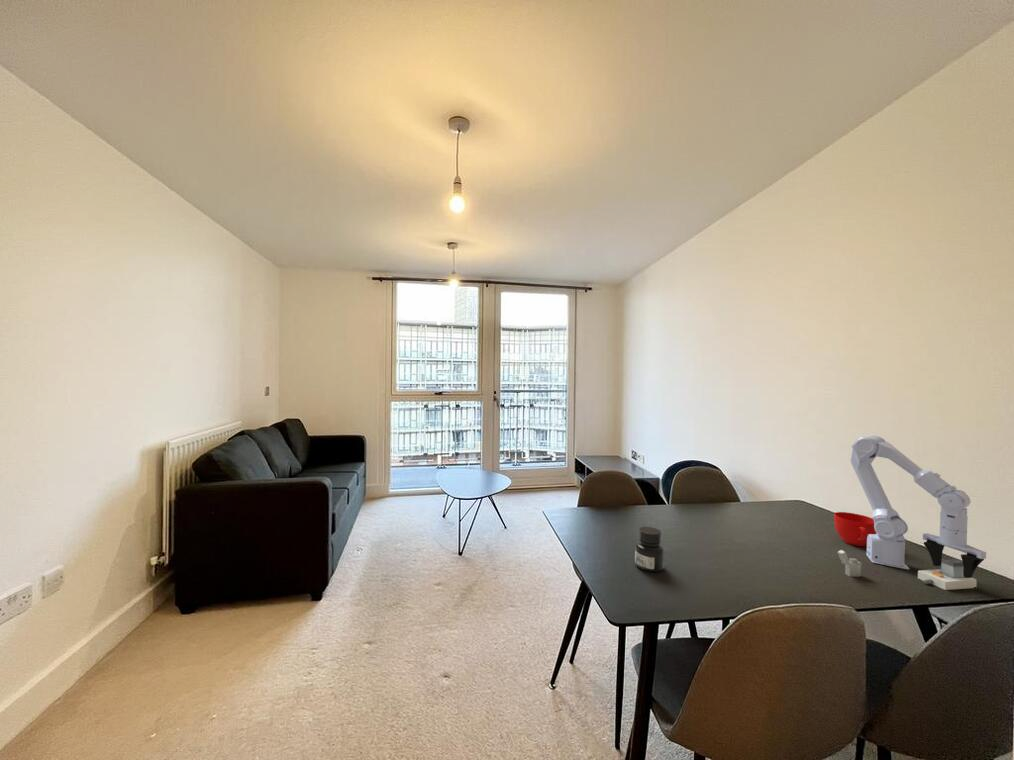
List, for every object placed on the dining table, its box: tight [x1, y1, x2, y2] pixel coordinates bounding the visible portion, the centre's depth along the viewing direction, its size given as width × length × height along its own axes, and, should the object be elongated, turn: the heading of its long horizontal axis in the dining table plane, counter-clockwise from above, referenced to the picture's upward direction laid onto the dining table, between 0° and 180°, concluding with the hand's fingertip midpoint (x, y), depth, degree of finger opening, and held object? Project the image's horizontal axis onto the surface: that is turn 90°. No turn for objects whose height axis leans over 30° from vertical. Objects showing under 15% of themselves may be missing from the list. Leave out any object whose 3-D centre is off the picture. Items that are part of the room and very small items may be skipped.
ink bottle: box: [634, 526, 665, 573], centre depth 130 cm, size 10×9×12 cm
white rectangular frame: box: [917, 568, 977, 591], centre depth 124 cm, size 14×7×3 cm, turn 99°
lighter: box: [837, 549, 862, 578], centre depth 128 cm, size 7×2×8 cm, turn 96°
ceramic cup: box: [833, 511, 876, 547], centre depth 153 cm, size 13×17×10 cm
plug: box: [940, 557, 965, 579], centre depth 125 cm, size 4×3×7 cm, turn 99°
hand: (951, 571), depth 125 cm, fingers open, 7 cm apart
